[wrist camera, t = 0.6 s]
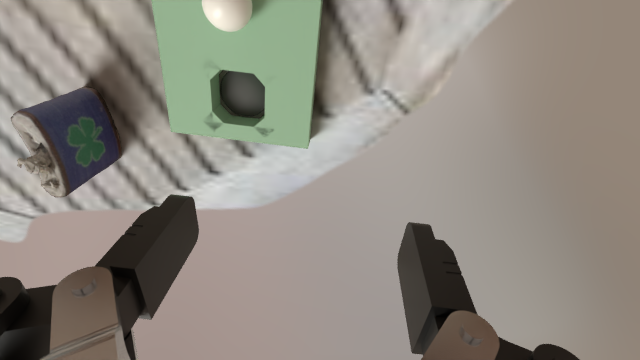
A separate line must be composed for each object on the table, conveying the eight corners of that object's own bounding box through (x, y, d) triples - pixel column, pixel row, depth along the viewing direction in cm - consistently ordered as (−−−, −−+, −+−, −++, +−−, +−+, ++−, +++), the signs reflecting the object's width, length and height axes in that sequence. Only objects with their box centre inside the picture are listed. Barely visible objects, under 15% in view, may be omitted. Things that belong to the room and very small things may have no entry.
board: (150, -119, 26) (132, -129, 24) (332, -98, 26) (330, -106, 24) (181, 123, 37) (170, 131, 35) (310, 139, 37) (307, 148, 35)
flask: (77, 85, 36) (-16, 119, 26) (102, 86, 35) (17, 120, 26) (105, 159, 40) (34, 209, 31) (127, 160, 40) (63, 211, 31)
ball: (210, -26, 27) (190, -28, 24) (257, -20, 27) (244, -22, 24) (213, 26, 29) (196, 31, 26) (257, 31, 29) (245, 37, 26)
